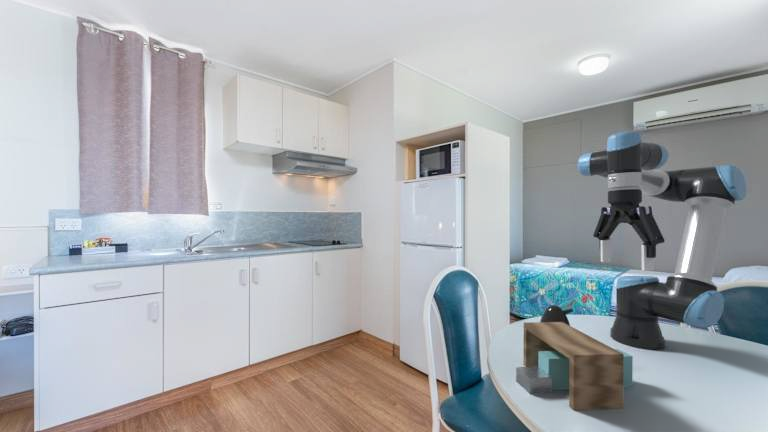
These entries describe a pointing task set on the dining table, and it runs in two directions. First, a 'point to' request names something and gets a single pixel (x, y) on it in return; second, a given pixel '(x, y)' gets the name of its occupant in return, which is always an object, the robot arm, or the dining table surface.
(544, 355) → the teal batten
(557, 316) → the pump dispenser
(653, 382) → the dining table surface
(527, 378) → the low grey plinth
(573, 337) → the walnut shelf
